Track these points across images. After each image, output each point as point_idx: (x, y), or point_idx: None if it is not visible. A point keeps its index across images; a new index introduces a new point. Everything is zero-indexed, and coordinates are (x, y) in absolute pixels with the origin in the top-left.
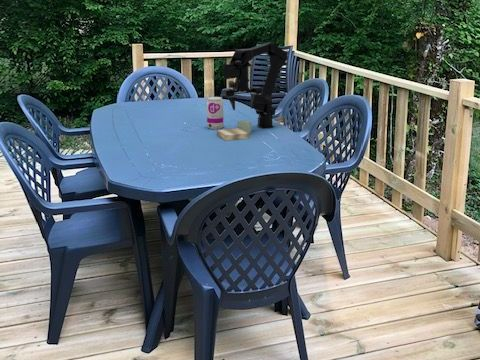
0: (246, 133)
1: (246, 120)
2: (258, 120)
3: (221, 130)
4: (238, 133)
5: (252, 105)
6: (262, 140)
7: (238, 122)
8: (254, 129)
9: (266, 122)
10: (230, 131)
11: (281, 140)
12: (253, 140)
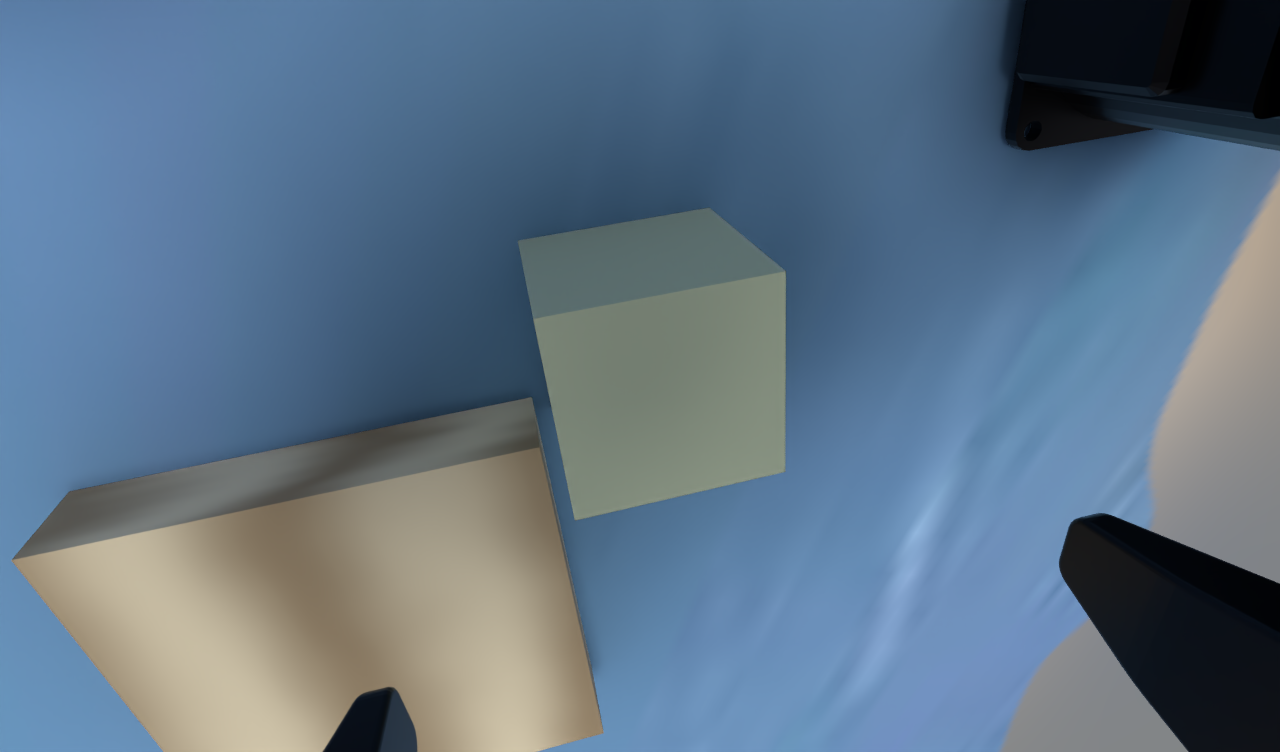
0: (555, 744)
1: (766, 285)
2: (1118, 1)
3: (135, 585)
4: (442, 749)
5: (1154, 699)
6: (699, 736)
7: (542, 361)
8: (849, 186)
9: (1172, 130)
10: (323, 654)
11: (867, 733)
12: (607, 737)
